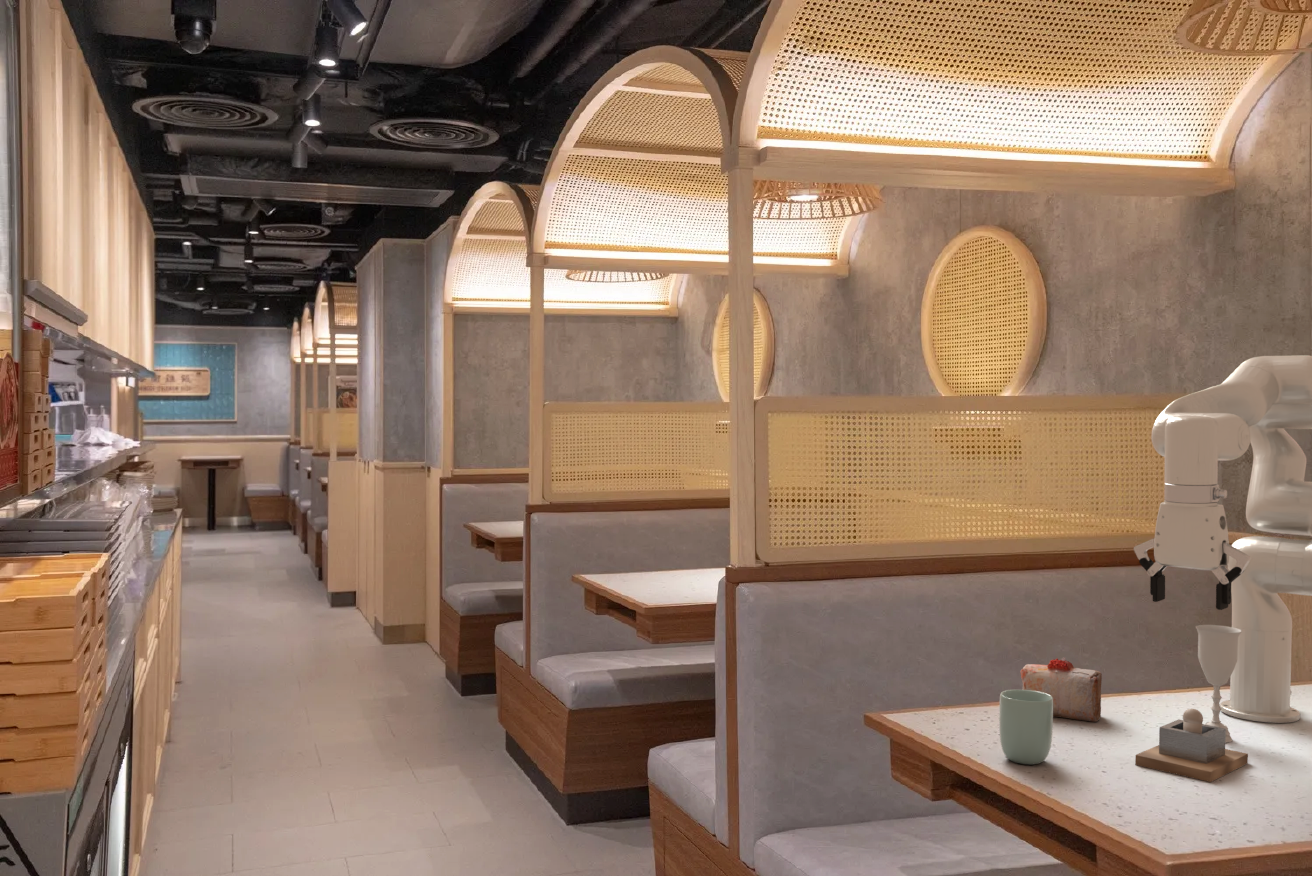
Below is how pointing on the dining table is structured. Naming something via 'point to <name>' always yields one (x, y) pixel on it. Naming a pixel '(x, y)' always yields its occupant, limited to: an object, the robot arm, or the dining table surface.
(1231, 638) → the chalice
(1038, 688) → the food item
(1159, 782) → the dining table surface
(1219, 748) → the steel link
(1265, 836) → the dining table surface
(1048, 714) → the cup
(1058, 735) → the dining table surface
